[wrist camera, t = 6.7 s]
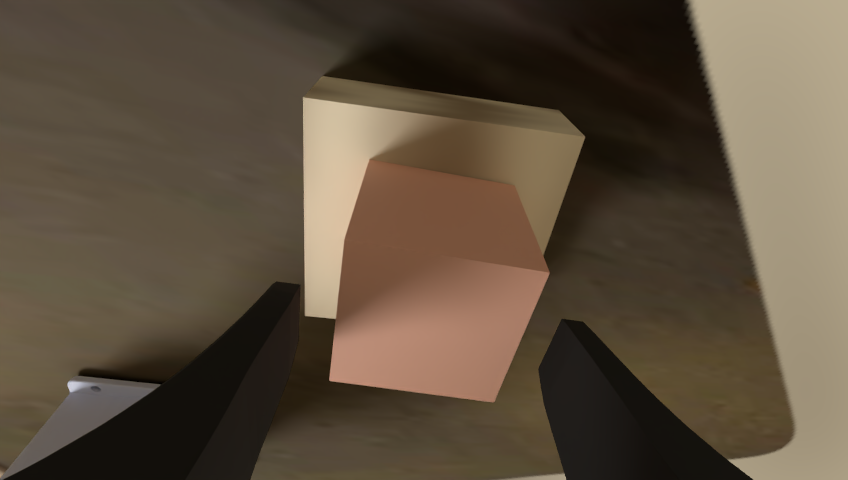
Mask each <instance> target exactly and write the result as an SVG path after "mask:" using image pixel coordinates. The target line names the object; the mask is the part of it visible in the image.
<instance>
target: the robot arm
mask: <svg viewBox="0 0 848 480" xmlns="http://www.w3.org/2000/svg"><path fill="white" fill-rule="evenodd" d="M299 310H300V285H299V284H291V283H284V282H275V283H274V284H272V285H271V286H270V288H269V289H268V290H267V291H266V292H265V293H264V294H263V295H262V296H261V297H260V298H259V300H258V301H257V302H256V303H255V304H254V305H253V306H252V307H251V308H250V309H249V310H248V311H247V312H246V313H245V314H244V315H243V316H242V317H241V318H240V319H239V320H238V321H237V322H235V323H234V324H233V325H232V326H231V327H230V328H229V329H228V330H227V331H226V332H225V333H224V334H223V335H222V336H221V337H219V338H218V339H217V340H216V341H215V342H214V343H213V344H211V345H210V346H209V347H208V348H207V349H206V350H204V351H203V352H202V353H201V354H200V355H199V356H197V357H196V358H195V359H194V360H193V361H191V362H190V363H189V364H188V365H186V366H185V367H184V368H183V369H181V370H180V371H179V372H178V373H176V374H175V375H174V376H172V377H171V378H170V379H168V380H167V381H166V382H164V383H163V384H152V383H143V382H133V381H124V380H114V379H105V378H95V377H85V376H74V377H72V378H71V379H70V381H69V382H68V388H69V390H70V394H69V395H68V396H67V397H66V399H65V400H64V401H63V402H62V404H61V405H60V406H59V407H58V408H57V410H56V411H55V412H54V413H53V415H52V416H51V417H50V418H49V419H48V421H47V422H46V423H45V424H44V426H43V427H42V428H41V429H40V430H39V432H38V433H37V434H36V435H35V436H34V438H33V439H32V440H31V441H30V443H29V444H28V445H27V446H26V447H25V449H24V450H23V451H22V452H21V454H20V455H19V456H18V457H17V458H16V460H15V461H14V462H13V463H12V465H11V466H10V467H9V468H8V469H7V471H6V472H5V473H4V474H3V475H2V477H1V478H0V480H250V479H251V476H252V473H253V470H254V467H255V464H256V461H257V458H258V455H259V453H260V450H261V448H262V445H263V443H264V440H265V437H266V435H267V432H268V430H269V427H270V425H271V422H272V419H273V417H274V414H275V412H276V409H277V407H278V404H279V401H280V399H281V396H282V394H283V391H284V388H285V386H286V383H287V380H288V378H289V375H290V371H291V367H292V364H293V360H294V356H295V352H296V348H297V344H298V338H299ZM539 376H540V383H541V390H542V395H543V401H544V406H545V409H546V413H547V416H548V420H549V423H550V426H551V430H552V433H553V437H554V440H555V443H556V446H557V450H558V453H559V456H560V460H561V463H562V466H563V470H564V473H565V476H566V480H753V479H752V478H750V477H749V476H748V475H746V474H745V473H744V472H742V471H741V470H740V469H739V468H737V467H736V466H735V465H733V464H732V463H731V462H729V461H728V460H727V459H726V458H724V457H723V456H722V455H721V454H719V453H718V452H717V451H716V450H714V449H713V448H712V447H711V446H710V445H709V444H707V443H706V442H705V441H704V440H703V439H701V438H700V437H699V436H698V435H697V434H695V433H694V432H693V431H692V430H691V429H690V428H689V427H687V426H686V425H685V424H684V423H683V422H682V421H681V420H680V419H678V418H677V417H676V416H675V415H674V414H673V413H672V412H671V411H670V410H669V409H668V408H667V407H666V406H665V405H664V404H663V403H662V402H660V401H659V400H658V399H657V398H656V397H655V396H654V395H653V394H652V393H651V392H650V391H649V390H648V389H647V388H646V387H645V386H644V385H643V384H642V383H641V382H640V381H639V380H638V379H637V378H636V377H635V376H634V375H633V374H632V373H631V371H630V370H629V369H628V368H627V367H626V366H625V365H624V364H623V363H622V362H621V361H620V360H619V359H618V358H617V357H616V356H615V355H614V354H613V352H612V351H611V350H610V349H609V348H608V347H607V346H606V345H605V344H604V343H603V342H602V341H601V340H600V339H599V338H598V337H597V336H596V334H595V333H594V332H593V331H592V330H591V329H590V328H589V327H588V326H587V325H586V324H584V323H583V322H581V321H574V320H566V319H562V320H561V322H560V324H559V326H558V328H557V330H556V333H555V335H554V337H553V339H552V341H551V343H550V345H549V347H548V349H547V352H546V354H545V356H544V358H543V360H542V362H541V364H540V366H539Z"/></svg>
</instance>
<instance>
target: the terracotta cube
mask: <svg viewBox="0 0 848 480" xmlns="http://www.w3.org/2000/svg"><path fill="white" fill-rule="evenodd" d="M549 274H550V272H549V269H548V267H547V264H546V262H545V259H544V257H543V254H542V252H541V250H540V247H539V245H538V242H537V240H536V237H535V235H534V232H533V230H532V227H531V225H530V222H529V220H528V217H527V215H526V212H525V210H524V207H523V205H522V202H521V200H520V198H519V195H518V193H517V190H516V188H515V185H509V184H504V183H498V182H493V181H487V180H482V179H476V178H471V177H465V176H460V175H454V174H449V173H443V172H438V171H432V170H427V169H421V168H415V167H410V166H404V165H399V164H393V163H388V162H382V161H376V160H371V159H369V162H368V165H367V168H366V171H365V175H364V178H363V181H362V184H361V188H360V191H359V194H358V197H357V200H356V204H355V207H354V210H353V213H352V216H351V220H350V223H349V226H348V229H347V232H346V236H345V239H344V247H343V256H342V266H341V275H340V284H339V294H338V303H337V313H336V322H335V331H334V341H333V350H332V359H331V369H330V378H329V381H334V382H341V383H349V384H357V385H364V386H372V387H380V388H387V389H395V390H402V391H410V392H418V393H425V394H433V395H441V396H448V397H456V398H463V399H471V400H479V401H486V402H494V401H495V399H496V396H497V394H498V392H499V389H500V387H501V385H502V382H503V380H504V378H505V375H506V373H507V371H508V369H509V366H510V364H511V362H512V359H513V357H514V355H515V352H516V350H517V348H518V345H519V343H520V341H521V338H522V336H523V334H524V332H525V329H526V327H527V325H528V322H529V320H530V318H531V315H532V313H533V311H534V308H535V306H536V304H537V301H538V299H539V297H540V295H541V292H542V290H543V288H544V285H545V283H546V281H547V278H548V276H549Z"/></svg>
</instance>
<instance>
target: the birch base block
mask: <svg viewBox="0 0 848 480" xmlns="http://www.w3.org/2000/svg"><path fill="white" fill-rule="evenodd" d="M303 131H304V250H305V316H311V317H321V318H332V319H336V313H337V303H338V294H339V284H340V275H341V266H342V256H343V247H344V239H345V236H346V232H347V229H348V226H349V223H350V220H351V216H352V213H353V210H354V207H355V204H356V200H357V197H358V194H359V191H360V188H361V184H362V181H363V178H364V175H365V171H366V168H367V165H368V162H369V159H371V160H376V161H382V162H388V163H393V164H399V165H404V166H410V167H415V168H421V169H427V170H432V171H438V172H443V173H449V174H454V175H460V176H465V177H471V178H476V179H482V180H487V181H493V182H498V183H504V184H509V185H515V188H516V190H517V193H518V195H519V198H520V200H521V202H522V205H523V207H524V210H525V212H526V215H527V217H528V220H529V222H530V225H531V227H532V230H533V232H534V235H535V237H536V240H537V242H538V245H539V247H540V250H541V252H542V254H543V255H544V252H545V249H546V246H547V244H548V241H549V238H550V235H551V232H552V229H553V227H554V224H555V221H556V218H557V215H558V213H559V210H560V207H561V204H562V201H563V198H564V196H565V193H566V190H567V187H568V184H569V181H570V179H571V176H572V173H573V170H574V167H575V165H576V162H577V159H578V156H579V153H580V150H581V148H582V145H583V142H584V139H585V136H584V135H583V134H582V133H581V132H580V131H579V130H578V129H577V128H576V127H575V126H574V125H573V124H572V123H571V122H570V121H569V120H568V119H567V118H566V117H565V116H564V115H563V114H562V113H561V112H560V111H559V110H554V109H547V108H540V107H533V106H527V105H520V104H513V103H506V102H499V101H492V100H485V99H478V98H471V97H464V96H458V95H451V94H444V93H437V92H430V91H423V90H416V89H409V88H402V87H395V86H388V85H382V84H375V83H368V82H361V81H354V80H347V79H340V78H333V77H326V76H322V77H321V78H320V79H319V80H318V81H317V83H316V84H315V85H314V86H313V87H312V88H311V89H310V90H309V91H308V93H307V94H306V95H305V96H304V97H303Z"/></svg>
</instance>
